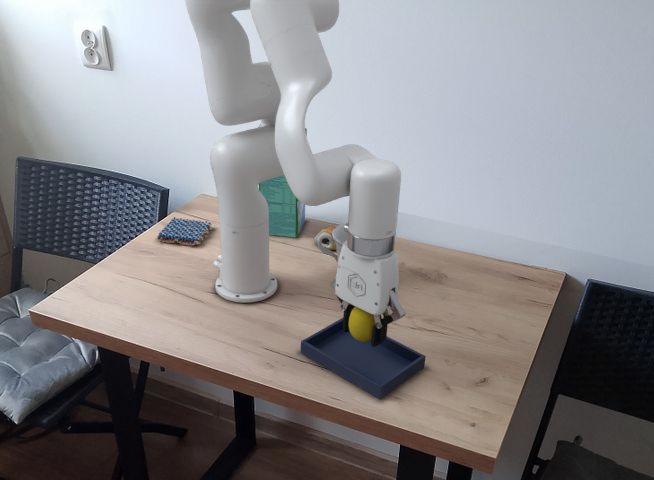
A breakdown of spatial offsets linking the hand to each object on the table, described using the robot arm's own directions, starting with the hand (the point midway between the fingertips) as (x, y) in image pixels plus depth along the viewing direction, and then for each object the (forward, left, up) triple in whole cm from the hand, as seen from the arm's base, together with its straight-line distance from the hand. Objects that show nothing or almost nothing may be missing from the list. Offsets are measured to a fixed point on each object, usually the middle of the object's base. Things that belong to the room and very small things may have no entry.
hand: (364, 335), depth 120 cm
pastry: (-34, +31, -6) cm, 46 cm away
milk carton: (-48, +28, -6) cm, 56 cm away
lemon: (0, 0, -2) cm, 2 cm away
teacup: (-21, +22, -6) cm, 31 cm away
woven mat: (-61, +8, -6) cm, 62 cm away
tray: (0, 0, -6) cm, 6 cm away
